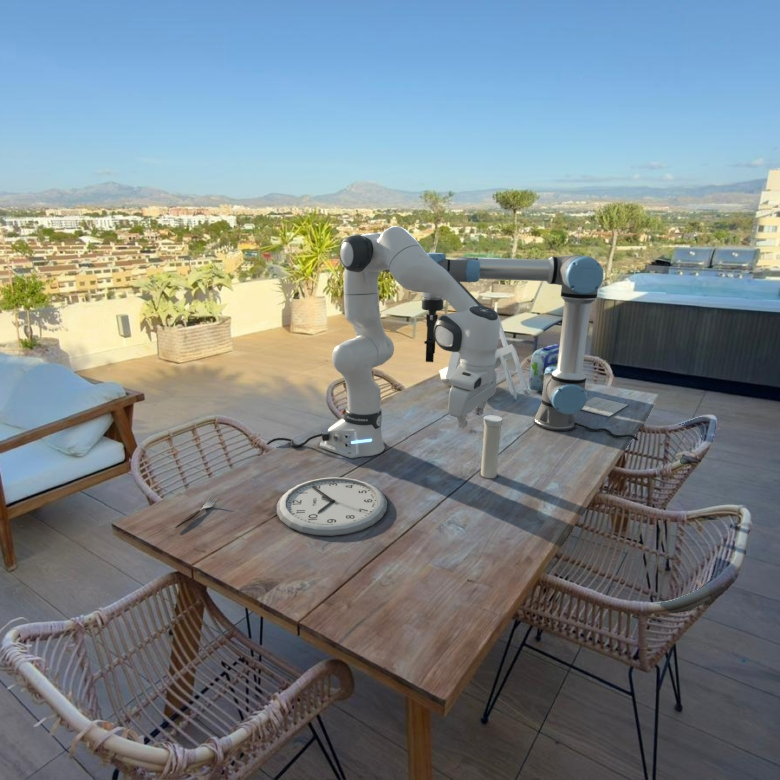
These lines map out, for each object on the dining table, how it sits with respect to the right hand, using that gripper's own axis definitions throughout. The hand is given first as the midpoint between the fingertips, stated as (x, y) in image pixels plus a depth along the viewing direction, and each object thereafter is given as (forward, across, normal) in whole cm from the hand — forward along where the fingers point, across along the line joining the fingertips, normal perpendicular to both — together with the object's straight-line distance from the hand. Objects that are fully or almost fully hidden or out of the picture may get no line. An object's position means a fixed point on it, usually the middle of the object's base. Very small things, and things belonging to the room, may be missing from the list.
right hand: (430, 357), depth 190 cm
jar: (+28, +35, +21) cm, 50 cm away
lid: (+10, +35, +21) cm, 42 cm away
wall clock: (+28, +61, -23) cm, 71 cm away
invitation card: (+28, -38, +73) cm, 87 cm away
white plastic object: (+28, -50, +22) cm, 61 cm away
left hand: (+3, +55, +13) cm, 57 cm away
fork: (+28, +71, -57) cm, 95 cm away
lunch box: (+28, -61, +55) cm, 87 cm away
